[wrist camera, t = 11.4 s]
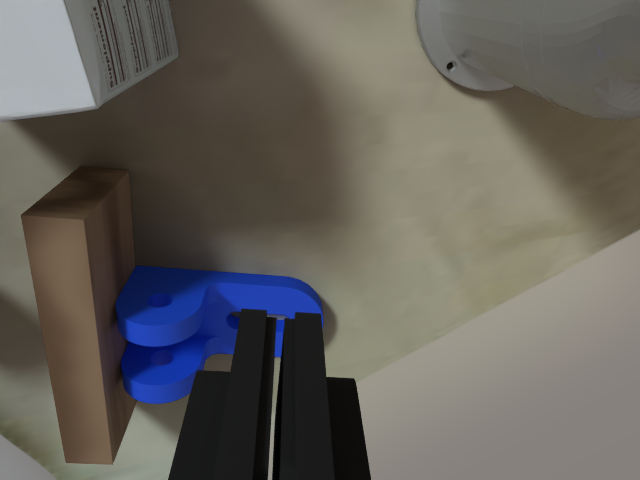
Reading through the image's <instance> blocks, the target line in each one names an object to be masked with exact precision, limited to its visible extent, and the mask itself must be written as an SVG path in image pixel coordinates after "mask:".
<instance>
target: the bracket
mask: <svg viewBox="0 0 640 480" xmlns="http://www.w3.org/2000/svg"><path fill="white" fill-rule="evenodd" d="M242 308H243V309H258V310H267V314H281V315H285V316H287V317H288V318H291V319H294V317H295V312H305V313H320V314H321V318H322V328H323V312H322V304H321V301H320V298H319V296H318V295H317V293H316V292H315V291H314V290H313V289H312V288H311V287H310V286H309V285H308V284H306V283H304V282H303V281H301V280H298V279H295V278H291V277H285V276H272V275H259V274H245V273H231V272H218V271H204V270H190V269H177V268H163V267H149V266H136V267H135V269H134V270H133V272H132V274H131V276H130V277H129V279H128V281H127V283H126V284H125V286H124V288H123V289H122V291H121V293H120V295H119V296H118V298H117V301H116V314H117V325H118V330H119V332H120V334H121V335H122V336H123V337H124V338H125V339H127V340H128V341H130V342H129V344H128V346H127V348H126V350H125V352H124V354H123V357H122V360H121V369H122V380H123V386H124V389H125V391H126V392H127V393H128V394H129V395H130V396H131V397H132V398H134V399H136V400H138V401H141V402H145V403H151V404H161V403H168V402H172V401H175V400H178V399H180V398H183V397H184V396H186V395H188V394H189V393H191V389H192V385H193V381H194V378H195V375H196V372H197V370H203V368H204V364H205V361H206V359H207V358H208V357H209V356H211V355H214V354H219V353H221V354H234V348H235V342H236V336H237V330H238V325H239V319H240V318H239V317H234V316H233V315H231V314H230V313H232V312H241V309H242ZM284 321H285V320H277V322H276V340H275V357H281V351H282V341H283V331H284Z"/></svg>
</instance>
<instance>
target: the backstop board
mask: <svg viewBox="0 0 640 480" xmlns="http://www.w3.org/2000/svg"><path fill="white" fill-rule="evenodd" d="M21 219H22V224H23V230H24V235H25V241H26V246H27V252H28V257H29V263H30V268H31V274H32V279H33V285H34V290H35V296H36V301H37V307H38V312H39V318H40V323H41V329H42V335H43V340H44V346H45V351H46V357H47V362H48V368H49V373H50V379H51V384H52V390H53V395H54V401H55V406H56V412H57V417H58V423H59V428H60V434H61V439H62V445H63V450H64V456H65V461H66V463H82V464H111V465H113V462H114V460H115V457H116V455H117V452H118V449H119V447H120V444H121V442H122V439H123V436H124V434H125V431H126V429H127V426H128V423H129V421H130V418H131V415H132V413H133V410H134V408H135V405H136V402H137V400H136V399H134V398H132V397H131V396H130V395H129V394H128V393H127V392H126V391H125V389H124V386H123V380H122V369H121V360H122V357H123V354H124V352H125V350H126V348H127V346H128V344H129V342H130V341H128V340H127V339H125V338H124V337H123V336H122V335H121V334H120V332H119V330H118V325H117V314H116V301H117V298H118V296H119V295H120V293H121V291H122V289H123V288H124V286H125V284H126V283H127V281H128V279H129V277H130V276H131V274H132V272H133V270H134V269H135V267H136V264H135V249H134V235H133V220H132V206H131V191H130V177H129V171H128V170H117V169H106V168H95V167H83V166H80V167H79V168H77V169H76V170H75V171H74V172H73V173H71V174H70V175H69V176H68V177H67V178H65V179H64V180H63V181H62V182H60V183H59V184H58V185H57V186H56V187H54V188H53V189H52V190H51V191H50V192H48V193H47V194H46V195H45V196H43V197H42V198H41V199H40V200H39V201H37V202H36V203H35V204H34V205H33V206H31V207H30V208H29V209H28V210H27V211H25V212H24V213H23V214H22V215H21Z"/></svg>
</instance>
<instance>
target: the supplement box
mask: <svg viewBox="0 0 640 480" xmlns="http://www.w3.org/2000/svg"><path fill="white" fill-rule="evenodd" d="M177 58H178V46H177V41H176V35H175V30H174V25H173V20H172V15H171V10H170V5H169V0H0V121H8V120H17V119H26V118H35V117H43V116H52V115H60V114H68V113H75V112H82V111H88V110H94V109H98V108H99V107H100V106H101V105H103V104H104V103H106V102H107V101H109V100H110V99H112V98H114V97H115V96H117V95H118V94H120V93H122V92H123V91H125V90H127V89H128V88H130V87H132V86H133V85H135V84H136V83H138V82H140V81H141V80H143V79H145V78H146V77H148V76H149V75H151V74H153V73H154V72H156V71H158V70H159V69H161V68H162V67H164V66H166V65H167V64H169V63H170V62H172V61H174V60H175V59H177Z"/></svg>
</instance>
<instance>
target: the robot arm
mask: <svg viewBox="0 0 640 480" xmlns="http://www.w3.org/2000/svg"><path fill="white" fill-rule="evenodd" d="M415 17H416V25H417V32H418V35H419V39H420V42H421V45H422V48H423V49H424V51H425V53H426V55H427V57H428V58H429V60H430V61H431V63H432V64H433V65H434V66H435V67H436V68H437V70H438V71H439V72H440V73H442V74H443V75H444V76H446V77H447V78H448V79H450V80H451V81H453V82H455V83H457V84H459V85H461V86H464V87H467V88H470V89H473V90H480V91H498V90H505V89H508V88H512V87H515V86H517V87H519V88H521V89H524V90H526V91H528V92H530V93H533V94H535V95H537V96H539V97H542V98H544V99H546V100H549V101H551V102H553V103H555V104H558V105H560V106H562V107H565V108H567V109H570V110H573V111H575V112H578V113H580V114H583V115H586V116H590V117H594V118H598V119H605V120H630V119H636V118H640V0H416V9H415ZM449 62H451V63H452V66H451V68H449V69H447V64H448V63H449ZM276 322H277V318H275V317H267V310H258V309H243V308H242V309H241V313H240V319H239V325H238V330H237V336H236V342H235V348H234V354H233V360H232V366H231V372H222V371H203V370H197V372H196V375H195V378H194V381H193V385H192V389H191V393H190V397H189V401H188V405H187V408H186V412H185V416H184V420H183V424H182V428H181V432H180V436H179V439H178V443H177V447H176V451H175V455H174V459H173V463H172V466H171V470H170V474H169V478H168V480H268V465H269V448H270V447H269V446H270V430H271V412H272V394H273V376H274V358H275V340H276ZM274 432H275V433H274V452H273V474H272V480H371V476H370V470H369V463H368V457H367V451H366V444H365V437H364V431H363V425H362V418H361V412H360V405H359V399H358V393H357V387H356V382H355V380H354V378H335V377H326V367H325V355H324V343H323V330H322V318H321V314H320V313H305V312H295V317H294V319H291V318H285V321H284V331H283V341H282V351H281V362H280V372H279V383H278V393H277V403H276V414H275V430H274Z"/></svg>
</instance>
